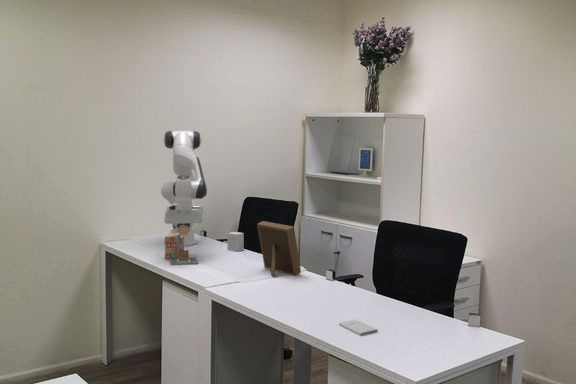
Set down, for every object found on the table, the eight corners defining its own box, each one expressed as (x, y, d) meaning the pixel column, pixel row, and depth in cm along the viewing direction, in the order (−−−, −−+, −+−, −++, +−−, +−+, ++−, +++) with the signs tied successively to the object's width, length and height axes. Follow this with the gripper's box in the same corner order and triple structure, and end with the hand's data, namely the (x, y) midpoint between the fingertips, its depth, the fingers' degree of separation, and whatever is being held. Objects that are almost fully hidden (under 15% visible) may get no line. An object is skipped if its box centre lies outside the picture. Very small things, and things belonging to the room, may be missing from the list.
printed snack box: (173, 251, 326) (173, 230, 325) (184, 251, 326) (184, 230, 325) (164, 258, 305) (164, 236, 304) (176, 258, 304) (176, 236, 303)
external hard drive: (360, 337, 197) (338, 326, 207) (377, 333, 201) (355, 322, 212) (360, 333, 197) (338, 322, 207) (377, 329, 201) (355, 318, 211)
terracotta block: (179, 233, 301) (179, 225, 300) (187, 233, 302) (187, 225, 301) (179, 235, 296) (179, 227, 296) (188, 235, 297) (188, 226, 297)
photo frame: (270, 266, 294) (270, 219, 291) (300, 274, 279) (301, 225, 276) (249, 271, 283) (249, 223, 280) (280, 279, 269) (281, 229, 266)
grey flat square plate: (169, 259, 306) (169, 257, 306) (195, 258, 309) (195, 256, 309) (170, 265, 292) (170, 263, 292) (197, 264, 296) (197, 262, 296)
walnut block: (178, 259, 302) (178, 250, 302) (188, 259, 304) (188, 250, 303) (179, 261, 298) (179, 252, 297) (188, 261, 299) (188, 252, 298)
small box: (243, 250, 332) (244, 233, 331) (238, 252, 327) (238, 234, 326) (233, 248, 336) (233, 231, 335) (227, 250, 331) (227, 232, 330)
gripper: (202, 205, 303) (202, 230, 304) (164, 205, 298) (164, 230, 299) (203, 206, 297) (203, 232, 298) (164, 207, 292) (164, 233, 293)
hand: (183, 231), depth 299 cm, fingers closed on terracotta block, 4 cm apart
